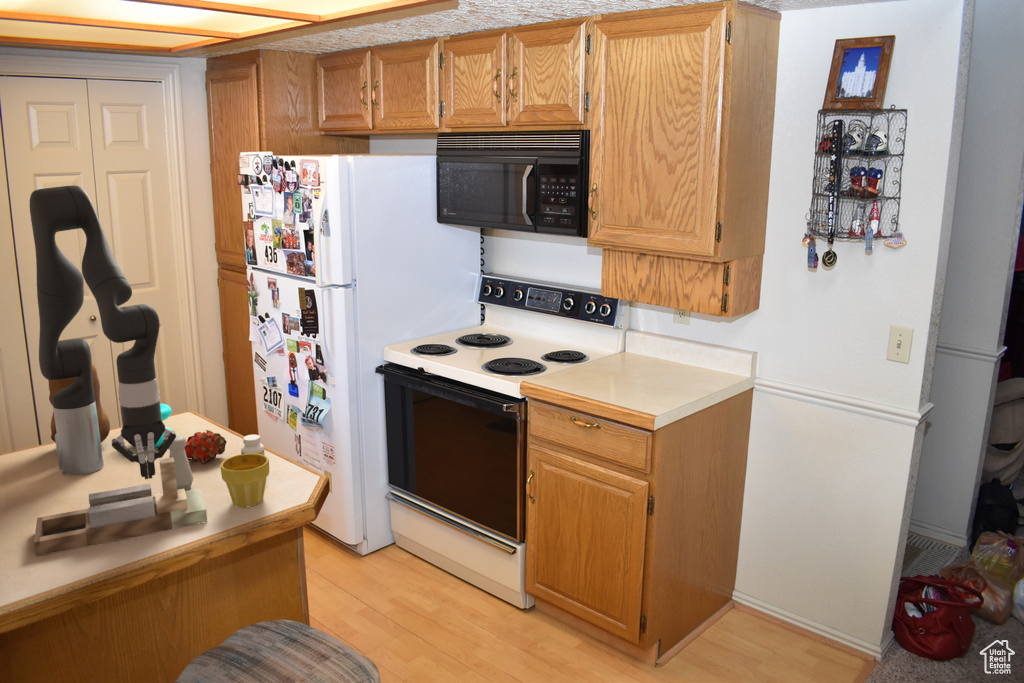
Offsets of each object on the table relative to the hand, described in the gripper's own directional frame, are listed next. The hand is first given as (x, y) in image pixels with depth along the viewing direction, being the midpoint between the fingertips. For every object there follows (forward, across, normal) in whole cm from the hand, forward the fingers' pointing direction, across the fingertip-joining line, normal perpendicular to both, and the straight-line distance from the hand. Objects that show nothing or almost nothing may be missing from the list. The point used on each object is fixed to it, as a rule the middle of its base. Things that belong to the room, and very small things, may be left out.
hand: (148, 477), depth 168 cm
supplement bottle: (+10, +24, +16) cm, 31 cm away
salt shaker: (+10, +7, +15) cm, 19 cm away
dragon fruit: (+10, +14, +31) cm, 36 cm away
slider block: (+7, +4, 0) cm, 8 cm away
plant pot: (+10, +20, +1) cm, 22 cm away
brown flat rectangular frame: (+10, -6, 0) cm, 12 cm away
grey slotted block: (+7, -6, 0) cm, 9 cm away
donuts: (+10, +3, +51) cm, 52 cm away
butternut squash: (+10, -14, +55) cm, 57 cm away
